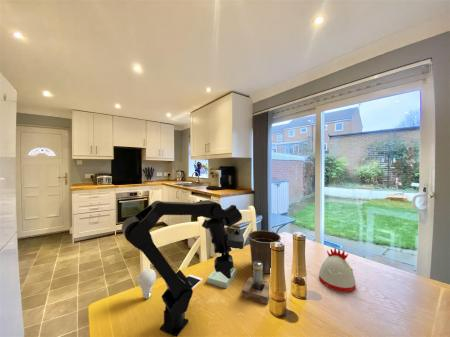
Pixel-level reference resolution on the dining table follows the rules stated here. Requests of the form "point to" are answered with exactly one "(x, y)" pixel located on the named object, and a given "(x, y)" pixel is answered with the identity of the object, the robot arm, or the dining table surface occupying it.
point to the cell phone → (194, 280)
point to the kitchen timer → (337, 272)
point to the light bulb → (146, 281)
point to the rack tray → (221, 278)
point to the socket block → (256, 291)
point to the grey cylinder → (257, 275)
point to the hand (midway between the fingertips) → (228, 269)
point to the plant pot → (262, 247)
